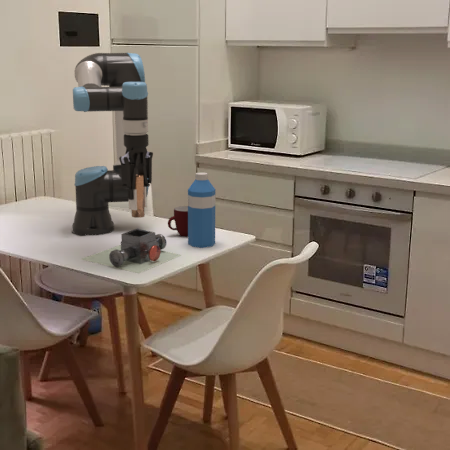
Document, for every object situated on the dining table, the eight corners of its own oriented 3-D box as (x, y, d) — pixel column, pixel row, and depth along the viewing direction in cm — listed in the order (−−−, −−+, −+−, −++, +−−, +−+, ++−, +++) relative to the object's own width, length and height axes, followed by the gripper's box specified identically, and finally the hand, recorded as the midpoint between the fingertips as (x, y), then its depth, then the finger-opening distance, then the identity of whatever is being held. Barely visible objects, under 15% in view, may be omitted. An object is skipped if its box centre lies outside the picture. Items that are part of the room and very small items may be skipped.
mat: (80, 260, 220) (80, 259, 220) (126, 243, 237) (126, 242, 237) (138, 274, 207) (138, 273, 207) (182, 256, 225) (182, 254, 225)
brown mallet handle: (129, 216, 216) (127, 175, 213) (137, 214, 219) (136, 173, 216) (138, 218, 214) (137, 177, 211) (147, 215, 217) (146, 175, 214)
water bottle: (187, 241, 241) (187, 171, 235) (214, 240, 242) (214, 170, 236) (188, 249, 232) (188, 176, 226) (216, 248, 233) (216, 176, 227)
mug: (174, 240, 242) (174, 213, 239) (164, 235, 248) (163, 208, 246) (200, 236, 247) (200, 209, 244) (189, 231, 254) (189, 204, 251)
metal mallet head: (106, 265, 214) (105, 239, 212) (151, 248, 232) (150, 223, 229) (132, 271, 208) (132, 245, 206) (176, 253, 226) (176, 228, 224)
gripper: (126, 137, 201) (129, 215, 207) (162, 131, 215) (164, 204, 221) (107, 135, 205) (110, 211, 211) (144, 129, 219) (145, 201, 225)
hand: (137, 207), depth 216 cm, fingers closed on brown mallet handle, 4 cm apart
